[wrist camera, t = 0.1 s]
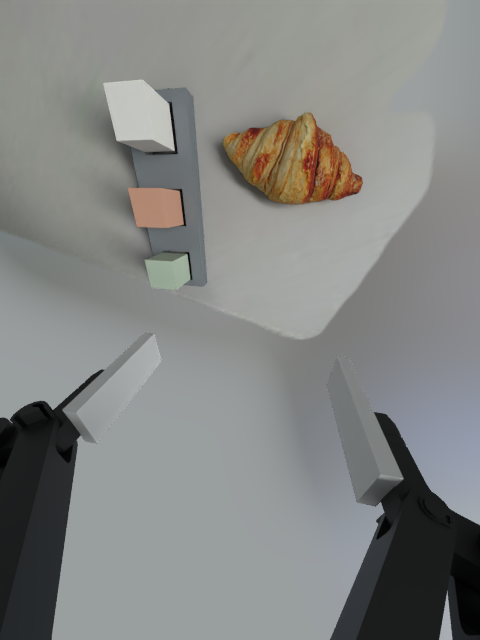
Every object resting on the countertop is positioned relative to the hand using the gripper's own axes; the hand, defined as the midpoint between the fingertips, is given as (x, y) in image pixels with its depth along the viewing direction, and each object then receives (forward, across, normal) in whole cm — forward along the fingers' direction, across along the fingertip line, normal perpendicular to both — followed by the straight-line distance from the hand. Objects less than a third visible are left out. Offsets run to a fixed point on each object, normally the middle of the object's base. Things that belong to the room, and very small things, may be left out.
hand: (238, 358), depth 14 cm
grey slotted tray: (+28, -17, +9) cm, 34 cm away
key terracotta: (+25, -17, +9) cm, 32 cm away
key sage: (+25, -17, -1) cm, 30 cm away
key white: (+25, -17, +19) cm, 36 cm away
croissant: (+28, +3, +15) cm, 32 cm away
